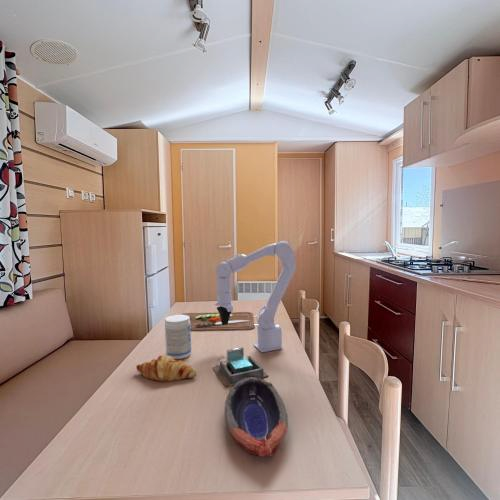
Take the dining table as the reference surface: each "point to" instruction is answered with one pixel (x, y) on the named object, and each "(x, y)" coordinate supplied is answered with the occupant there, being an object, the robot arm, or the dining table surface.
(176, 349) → the supplement tub
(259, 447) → the dish
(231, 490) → the dining table surface
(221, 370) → the dock bay
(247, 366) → the trolley
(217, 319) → the chopping board
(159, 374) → the croissant
